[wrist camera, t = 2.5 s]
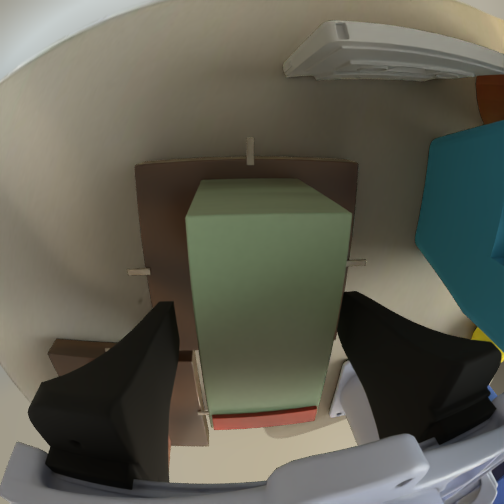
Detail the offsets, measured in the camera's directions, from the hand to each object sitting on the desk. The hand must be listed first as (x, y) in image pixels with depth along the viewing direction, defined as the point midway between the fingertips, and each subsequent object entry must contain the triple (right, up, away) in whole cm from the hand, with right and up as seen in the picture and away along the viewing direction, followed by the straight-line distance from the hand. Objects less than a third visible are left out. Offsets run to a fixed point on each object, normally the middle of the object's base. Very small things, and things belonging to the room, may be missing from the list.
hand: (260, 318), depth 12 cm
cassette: (+7, +14, +3) cm, 16 cm away
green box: (0, +2, +5) cm, 5 cm away
